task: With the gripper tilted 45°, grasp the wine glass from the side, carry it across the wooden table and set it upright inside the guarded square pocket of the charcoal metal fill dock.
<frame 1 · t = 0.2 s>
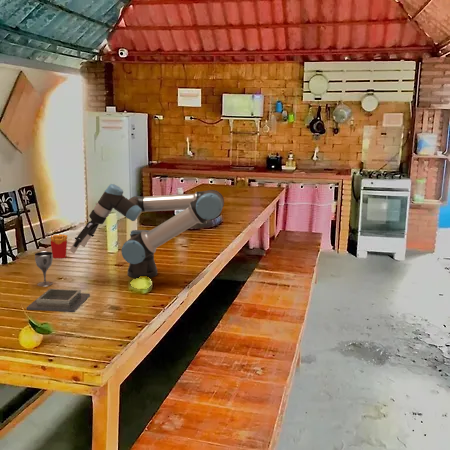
hand: (76, 248, 249), 16 cm above the table, tool tilted 35°, fingers open, 13 cm apart
fill dock: (59, 302, 222), on the table
wine glass: (45, 284, 245), on the table
french fries: (59, 257, 292), on the table
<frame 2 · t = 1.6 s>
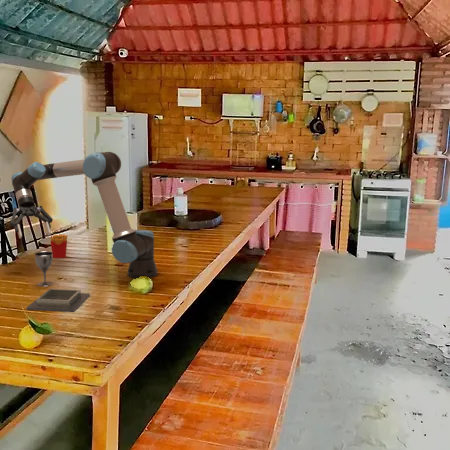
hand: (35, 235, 249), 22 cm above the table, tool tilted 45°, fingers open, 13 cm apart
nothing on the table moved.
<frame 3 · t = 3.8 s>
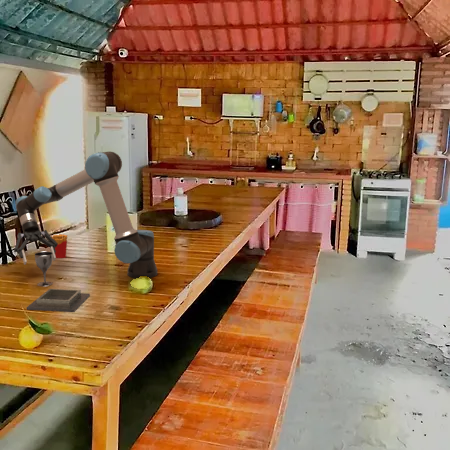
hand: (40, 261, 245), 10 cm above the table, tool tilted 45°, fingers open, 13 cm apart
nothing on the table moved.
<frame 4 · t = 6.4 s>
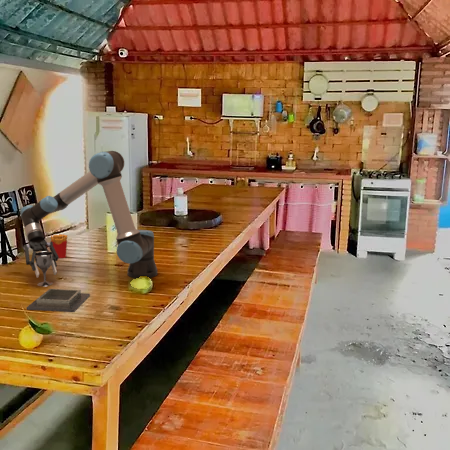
hand: (46, 274, 241), 6 cm above the table, tool tilted 45°, fingers closed on wine glass, 7 cm apart
wine glass: (45, 284, 245), on the table, touching gripper
everything else where it was.
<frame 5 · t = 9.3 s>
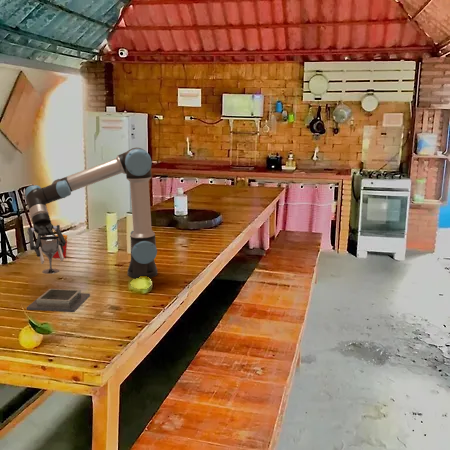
hand: (52, 260, 219), 18 cm above the table, tool tilted 45°, fingers closed on wine glass, 7 cm apart
wine glass: (50, 271, 223), point 12 cm above the table, touching gripper
everything else where it was.
when the fingers open (8 cm above the table, at t = 12.6 s): wine glass drops 1 cm, resting on fill dock.
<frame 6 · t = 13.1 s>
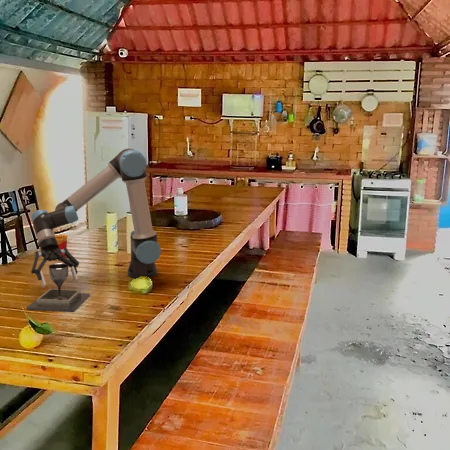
hand: (60, 283, 218), 9 cm above the table, tool tilted 45°, fingers open, 13 cm apart
wine glass: (59, 299, 222), point 1 cm above the table, touching fill dock
everything else where it was.
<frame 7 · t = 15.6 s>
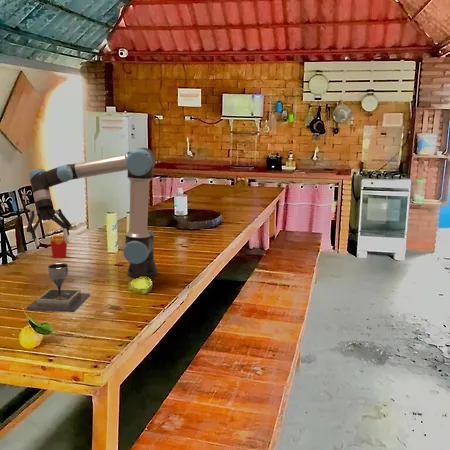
hand: (53, 244, 234), 21 cm above the table, tool tilted 30°, fingers open, 13 cm apart
nothing on the table moved.
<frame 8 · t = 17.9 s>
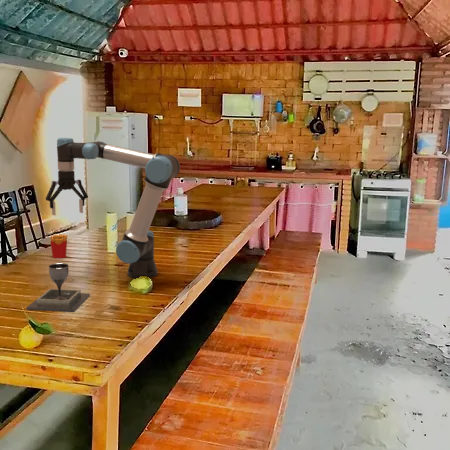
hand: (67, 213, 252), 32 cm above the table, tool pointing down, fingers open, 13 cm apart
nothing on the table moved.
at the end: wine glass inside the target area on the fill dock (0.8 cm from its centre), point 0.9 cm above the fill dock's base; wine glass tilted 1°; the gripper is holding nothing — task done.
